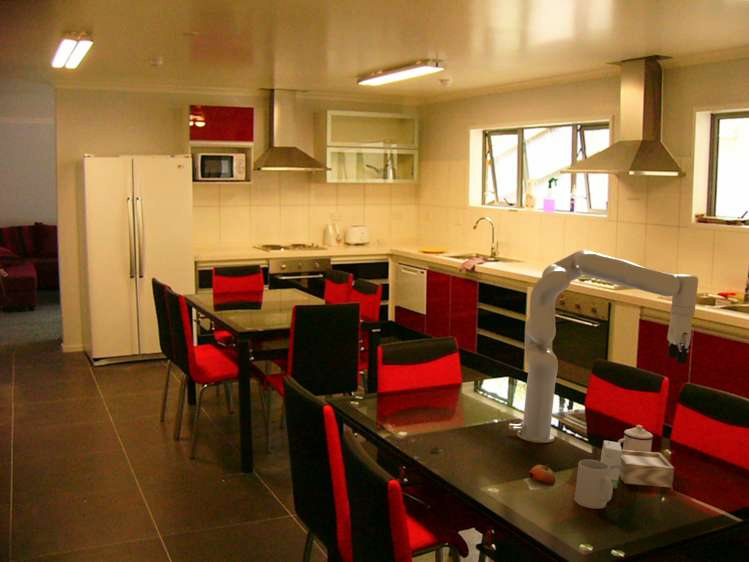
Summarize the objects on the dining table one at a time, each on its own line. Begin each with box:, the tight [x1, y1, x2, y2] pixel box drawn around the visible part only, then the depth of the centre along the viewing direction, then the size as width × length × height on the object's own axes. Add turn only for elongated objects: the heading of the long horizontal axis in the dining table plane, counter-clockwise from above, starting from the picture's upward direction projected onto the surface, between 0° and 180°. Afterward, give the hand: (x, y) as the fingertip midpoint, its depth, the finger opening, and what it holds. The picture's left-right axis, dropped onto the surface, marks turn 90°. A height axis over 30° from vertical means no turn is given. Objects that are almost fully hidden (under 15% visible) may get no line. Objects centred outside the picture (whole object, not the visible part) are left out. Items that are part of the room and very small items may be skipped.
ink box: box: [600, 440, 623, 490], centre depth 240 cm, size 9×5×12 cm, turn 168°
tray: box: [619, 449, 675, 488], centre depth 247 cm, size 14×14×6 cm
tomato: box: [529, 464, 556, 485], centre depth 238 cm, size 8×7×7 cm
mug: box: [574, 459, 614, 510], centre depth 221 cm, size 12×8×11 cm
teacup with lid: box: [617, 424, 654, 452], centre depth 263 cm, size 12×9×12 cm
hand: (677, 360), depth 275 cm, fingers open, 9 cm apart
